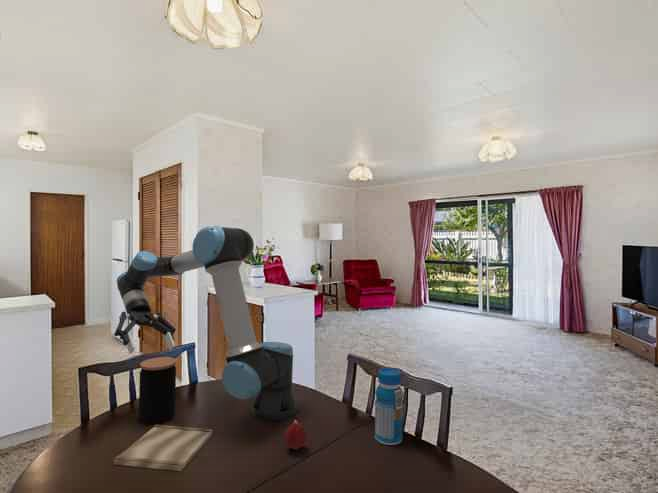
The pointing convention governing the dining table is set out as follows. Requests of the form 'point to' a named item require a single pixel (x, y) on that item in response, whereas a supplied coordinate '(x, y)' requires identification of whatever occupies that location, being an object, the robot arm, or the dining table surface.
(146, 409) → the coffee jar
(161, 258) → the robot arm
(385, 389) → the beverage bottle
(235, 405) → the dining table surface
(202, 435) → the board
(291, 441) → the onion
